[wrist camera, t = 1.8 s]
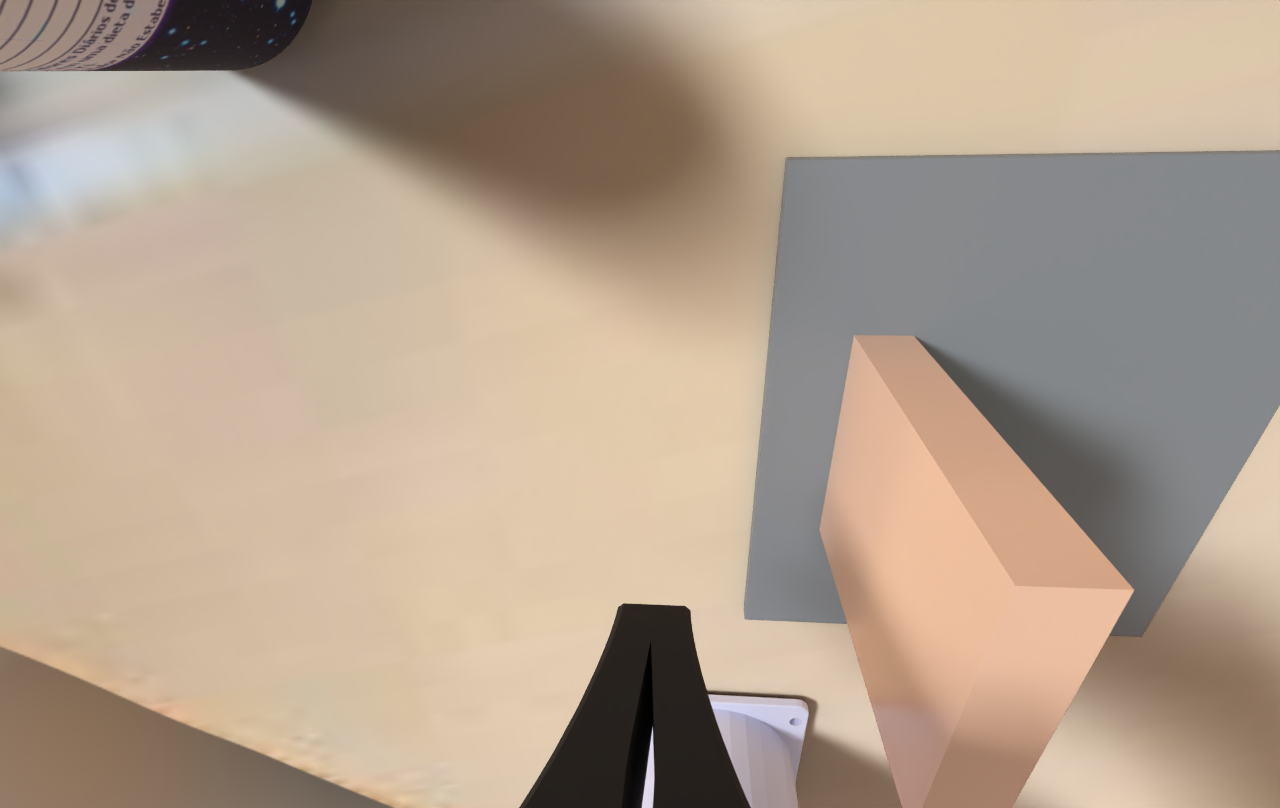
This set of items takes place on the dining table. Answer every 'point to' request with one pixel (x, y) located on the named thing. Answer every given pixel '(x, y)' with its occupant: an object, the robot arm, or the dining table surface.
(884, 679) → the tile
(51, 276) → the dining table surface
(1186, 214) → the slate pad
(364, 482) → the dining table surface
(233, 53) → the beverage can
